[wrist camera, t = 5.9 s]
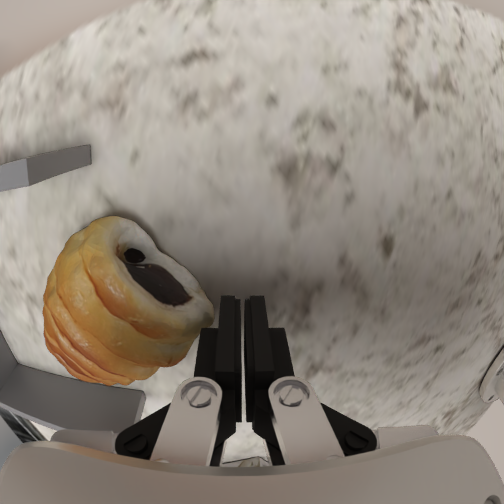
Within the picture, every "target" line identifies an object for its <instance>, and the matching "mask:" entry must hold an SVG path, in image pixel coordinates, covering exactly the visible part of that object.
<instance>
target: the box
mask: <svg viewBox="0 0 504 504" xmlns="http://www.w3.org/2000/svg"><path fill="white" fill-rule="evenodd" d="M90 164H91V154H90V145H84V146H79V147H73V148H68V149H63V150H58V151H53V152H48V153H44V154H40V155H35V156H31V157H27V158H23V159H20V160H16V161H12V162H9V163H5V164H2V165H0V192H1V191H6V190H11V189H16V188H21V187H27V186H30V185H33V184H36V183H38V182H41V181H43V180H46V179H49V178H51V177H54V176H57V175H60V174H63V173H65V172H68V171H71V170H74V169H77V168H80V167H84V166H87V165H90ZM145 401H146V397H145V395H144V392H143V391H137V390H130V389H123V388H117V387H111V386H105V385H99V384H94V383H89V382H84V381H80V380H75V379H71V378H66V377H62V376H58V375H54V374H51V373H47V372H43V371H40V370H36V369H33V368H30V367H26V366H23V365H20V364H18V363H17V362H16V360H15V358H14V356H13V354H12V353H11V351H10V349H9V347H8V345H7V343H6V341H5V339H4V337H3V335H2V333H1V331H0V407H2V408H4V409H6V410H8V411H10V412H12V413H15V414H17V415H19V416H21V417H24V418H26V419H28V420H31V421H33V422H35V423H38V424H40V425H43V426H46V427H48V428H51V429H54V430H57V431H59V430H63V429H71V430H91V431H112V432H113V433H120V432H122V431H123V430H124V429H126V428H128V427H130V426H132V425H133V424H135V423H137V422H139V421H140V420H141V416H142V412H143V408H144V404H145Z"/></svg>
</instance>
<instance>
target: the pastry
mask: <svg viewBox="0 0 504 504" xmlns="http://www.w3.org/2000/svg"><path fill="white" fill-rule="evenodd" d="M43 301H44V307H43V316H44V337H45V341H46V346H47V348H48V350H49V351H50V353H52V354H53V355H54V356H55V357H56V359H57V360H58V361H59V362H60V363H61V364H62V365H63V366H65V368H66V369H67V371H68V372H69V373H70V374H71V375H73V376H74V377H76V378H78V379H80V380H82V381H85V382H90V383H103V384H105V385H107V386H111V385H114V384H117V383H120V384H122V385H129V384H130V383H132V382H133V381H135V380H145V379H148V378H149V377H150V376H152V375H153V374H154V373H155V372H156V371H157V370H158V369H159V367H171V366H174V365H176V364H178V363H179V362H180V361H181V360H182V359H184V358H185V357H186V355H187V353H188V351H189V349H190V347H191V345H192V343H193V342H194V340H195V339H196V337H197V336H198V335H199V334H200V331H201V328H207V327H210V326H211V325H212V324H213V321H214V316H215V315H214V308H213V305H212V303H211V302H210V301H209V300H208V298H207V297H206V294H205V292H204V291H203V290H202V289H201V288H200V285H199V282H198V281H197V280H196V279H195V278H194V277H193V275H192V274H191V273H190V272H189V271H188V270H187V269H186V268H185V267H183V266H181V265H179V264H178V263H177V262H176V261H175V260H173V259H172V258H170V257H169V256H167V255H165V254H163V253H161V252H160V251H159V250H158V249H157V247H156V246H155V243H154V242H153V240H152V239H151V237H150V236H149V235H148V234H147V233H146V232H145V231H144V230H143V229H142V228H140V227H139V226H138V224H137V223H135V222H134V221H131V220H128V219H125V218H122V217H118V216H109V217H103V218H100V219H96V220H94V221H92V222H91V224H90V225H89V226H88V227H86V228H84V229H83V230H81V231H79V232H77V233H75V234H73V235H72V236H71V237H70V238H69V240H68V241H67V242H66V244H65V247H64V249H63V250H62V252H61V253H60V254H59V256H58V258H57V260H56V263H55V266H54V269H53V270H52V271H51V273H50V275H49V277H48V279H47V286H46V290H45V293H44V296H43Z"/></svg>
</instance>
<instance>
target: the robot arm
mask: <svg viewBox="0 0 504 504" xmlns="http://www.w3.org/2000/svg"><path fill="white" fill-rule="evenodd" d="M244 369H245V398H246V422H252V430H254V432H255V433H256V434H257V435H259V436H260V437H262V438H263V444H264V447H265V451H266V454H267V458H268V462H269V465H270V466H263V467H222V462H223V457H224V452H225V447H226V439H228V438H229V437H230V436H231V435H233V434H234V433H235V432H236V422H242V364H241V310H240V299H235V296H221V303H220V314H219V326H218V328H201V331H200V338H199V344H198V351H197V357H196V364H195V371H194V378H189V379H187V380H185V381H183V382H182V383H181V384H180V385H179V386H178V388H177V389H176V392H175V394H174V397H173V400H172V402H171V403H170V404H168V405H166V406H165V407H163V408H161V409H160V410H158V411H156V412H155V413H153V414H151V415H149V416H148V417H146V418H144V419H142V420H141V421H139V422H137V423H135V424H133V425H132V426H130V427H128V428H126V429H124V430H123V431H122V432H120V433H113V432H112V431H91V430H71V429H63V430H59V431H57V432H55V433H54V434H53V436H52V437H51V440H50V441H35V442H28V443H24V444H21V445H19V446H17V447H16V448H15V449H14V450H13V451H12V452H11V453H10V455H9V456H8V458H7V459H6V461H5V463H4V465H3V467H2V469H1V471H0V504H504V484H503V482H502V480H501V477H500V475H499V473H498V471H497V469H496V467H495V465H494V463H493V461H492V460H491V458H490V456H489V455H488V453H487V452H486V450H485V449H484V447H483V446H482V445H481V444H480V443H479V442H478V441H476V440H475V439H474V438H471V437H469V436H464V435H451V434H449V435H439V434H438V432H437V431H436V430H435V429H434V428H433V427H431V426H429V425H417V426H404V427H379V428H378V429H377V430H371V429H369V428H368V427H366V426H364V425H362V424H360V423H358V422H356V421H354V420H352V419H351V418H349V417H347V416H345V415H343V414H341V413H339V412H337V411H335V410H333V409H332V408H330V407H328V406H326V405H324V404H323V403H321V402H320V401H319V399H318V397H317V395H316V393H315V391H314V388H313V387H312V386H311V384H310V383H309V382H307V381H306V380H304V379H302V378H299V377H295V376H294V371H293V366H292V361H291V357H290V352H289V347H288V342H287V338H286V333H285V329H284V328H269V327H268V320H267V313H266V306H265V299H264V296H250V299H245V309H244ZM479 392H480V396H481V398H482V399H483V401H484V402H485V403H488V402H493V401H496V400H497V399H499V398H500V400H501V401H502V403H503V404H504V348H503V349H502V351H501V352H500V354H499V355H498V356H497V358H496V359H495V361H494V362H493V364H492V365H491V367H490V369H489V370H488V372H487V374H486V376H485V377H484V379H483V382H482V384H481V387H480V391H479Z"/></svg>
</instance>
